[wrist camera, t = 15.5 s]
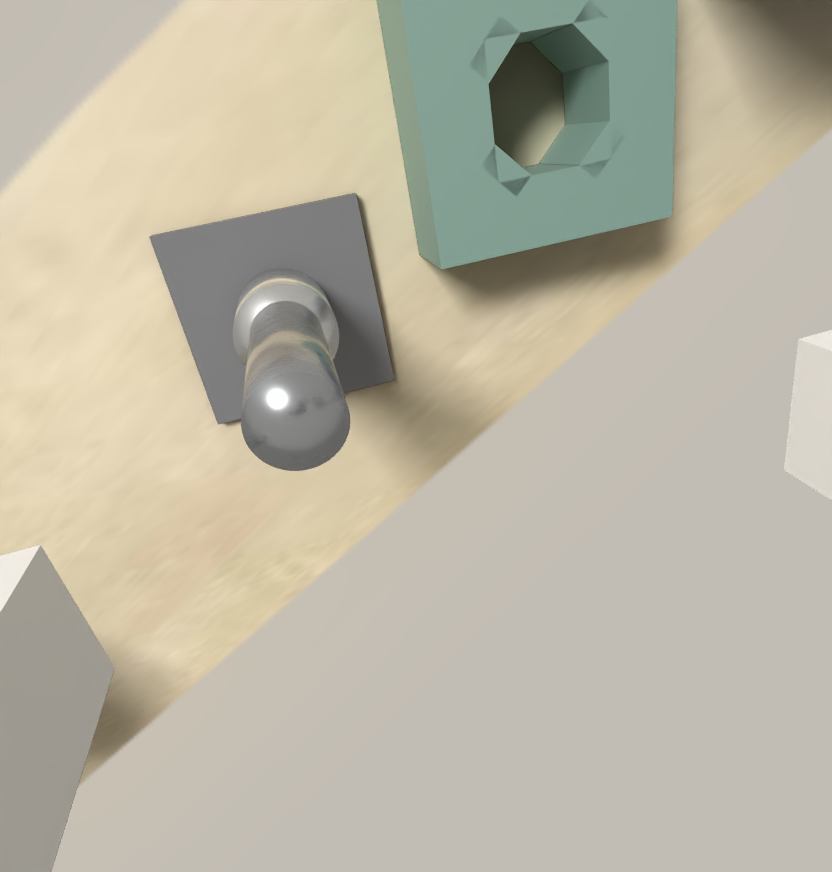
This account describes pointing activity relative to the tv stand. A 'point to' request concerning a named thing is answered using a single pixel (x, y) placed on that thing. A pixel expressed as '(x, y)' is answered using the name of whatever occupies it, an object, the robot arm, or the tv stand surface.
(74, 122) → the tv stand surface
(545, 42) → the housing
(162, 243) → the mat
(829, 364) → the robot arm
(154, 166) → the tv stand surface
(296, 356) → the grey metallic waisted cylinder
